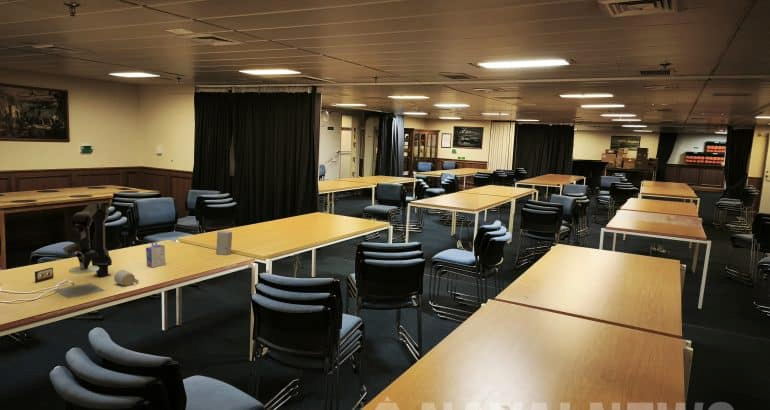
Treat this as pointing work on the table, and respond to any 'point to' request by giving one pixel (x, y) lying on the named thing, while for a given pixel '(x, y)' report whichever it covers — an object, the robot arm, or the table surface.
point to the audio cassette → (44, 275)
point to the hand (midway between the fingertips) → (84, 268)
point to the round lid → (81, 269)
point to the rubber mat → (79, 290)
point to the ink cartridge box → (155, 255)
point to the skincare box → (224, 242)
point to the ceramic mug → (125, 278)
